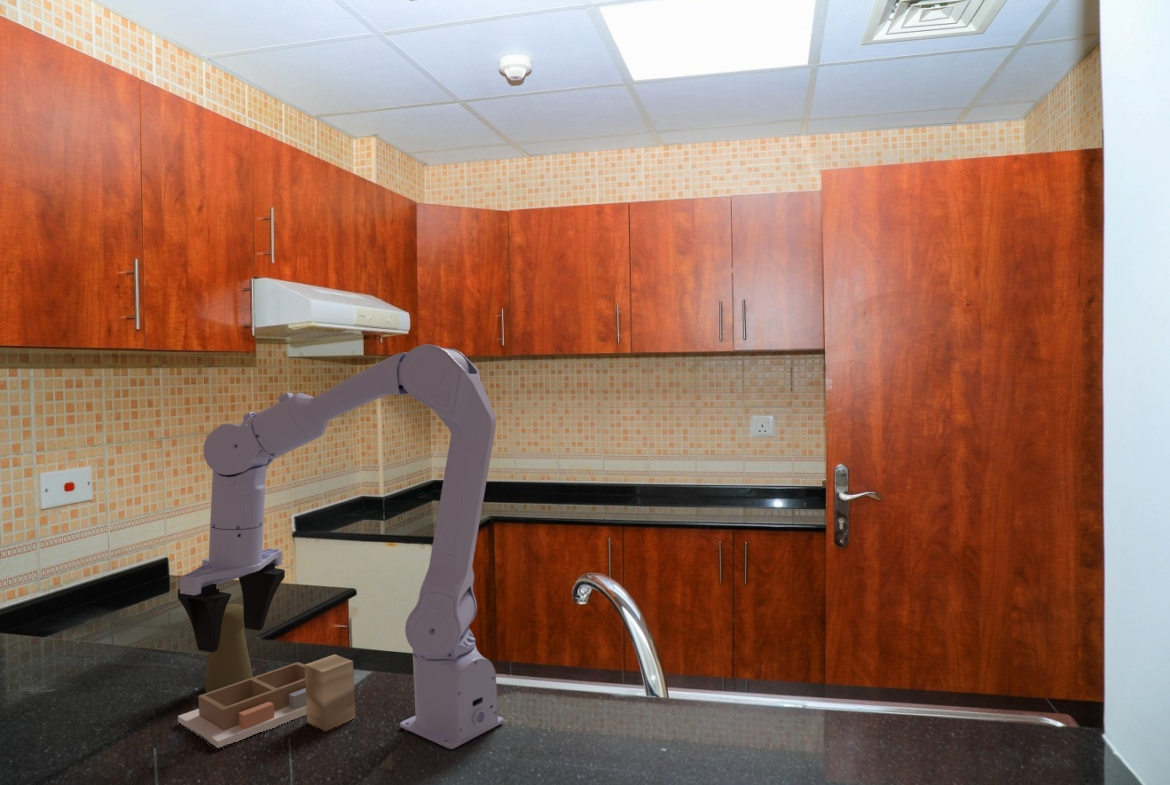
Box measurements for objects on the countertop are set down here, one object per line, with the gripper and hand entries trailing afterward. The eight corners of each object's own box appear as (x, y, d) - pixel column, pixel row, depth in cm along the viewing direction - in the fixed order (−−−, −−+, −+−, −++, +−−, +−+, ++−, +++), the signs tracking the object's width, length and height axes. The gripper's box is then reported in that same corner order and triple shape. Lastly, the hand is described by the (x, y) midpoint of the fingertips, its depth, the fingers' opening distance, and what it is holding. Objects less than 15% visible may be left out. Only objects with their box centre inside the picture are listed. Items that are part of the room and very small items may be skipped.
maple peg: (355, 718, 87) (352, 661, 87) (325, 732, 84) (322, 672, 84) (337, 710, 90) (334, 654, 90) (307, 722, 87) (304, 664, 87)
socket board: (346, 698, 93) (345, 672, 93) (218, 750, 81) (216, 720, 81) (302, 679, 100) (301, 654, 100) (178, 724, 88) (176, 696, 88)
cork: (234, 696, 95) (230, 613, 95) (194, 694, 97) (190, 612, 97) (263, 678, 101) (259, 599, 101) (225, 676, 103) (221, 598, 102)
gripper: (250, 511, 94) (245, 616, 94) (159, 532, 80) (153, 655, 80) (298, 517, 92) (292, 623, 92) (213, 539, 78) (207, 665, 78)
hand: (231, 639), depth 86 cm, fingers open, 7 cm apart
